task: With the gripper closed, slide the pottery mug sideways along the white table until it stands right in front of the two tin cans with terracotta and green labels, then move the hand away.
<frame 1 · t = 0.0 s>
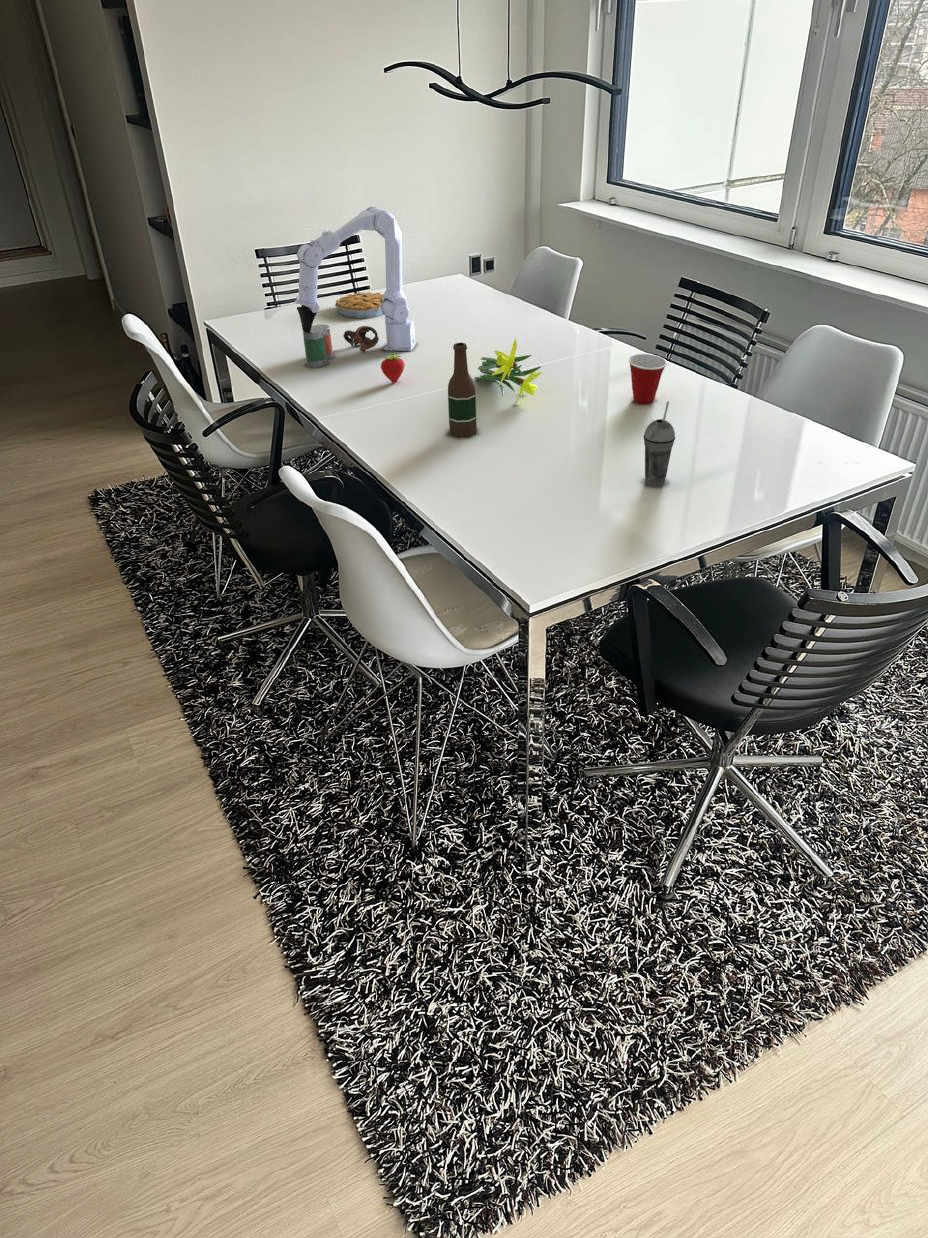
hand: (306, 330, 284), 11 cm above the table, tool pointing down, fingers closed, pressing on tin cans
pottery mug: (362, 348, 303), on the table
beer bottle: (463, 433, 241), on the table
pie: (365, 311, 341), on the table
beverage cup: (654, 483, 212), on the table
strawberry: (394, 383, 274), on the table
plastic cup: (644, 401, 256), on the table
daffodil flowers: (500, 393, 264), on the table
tin cans: (320, 360, 294), on the table
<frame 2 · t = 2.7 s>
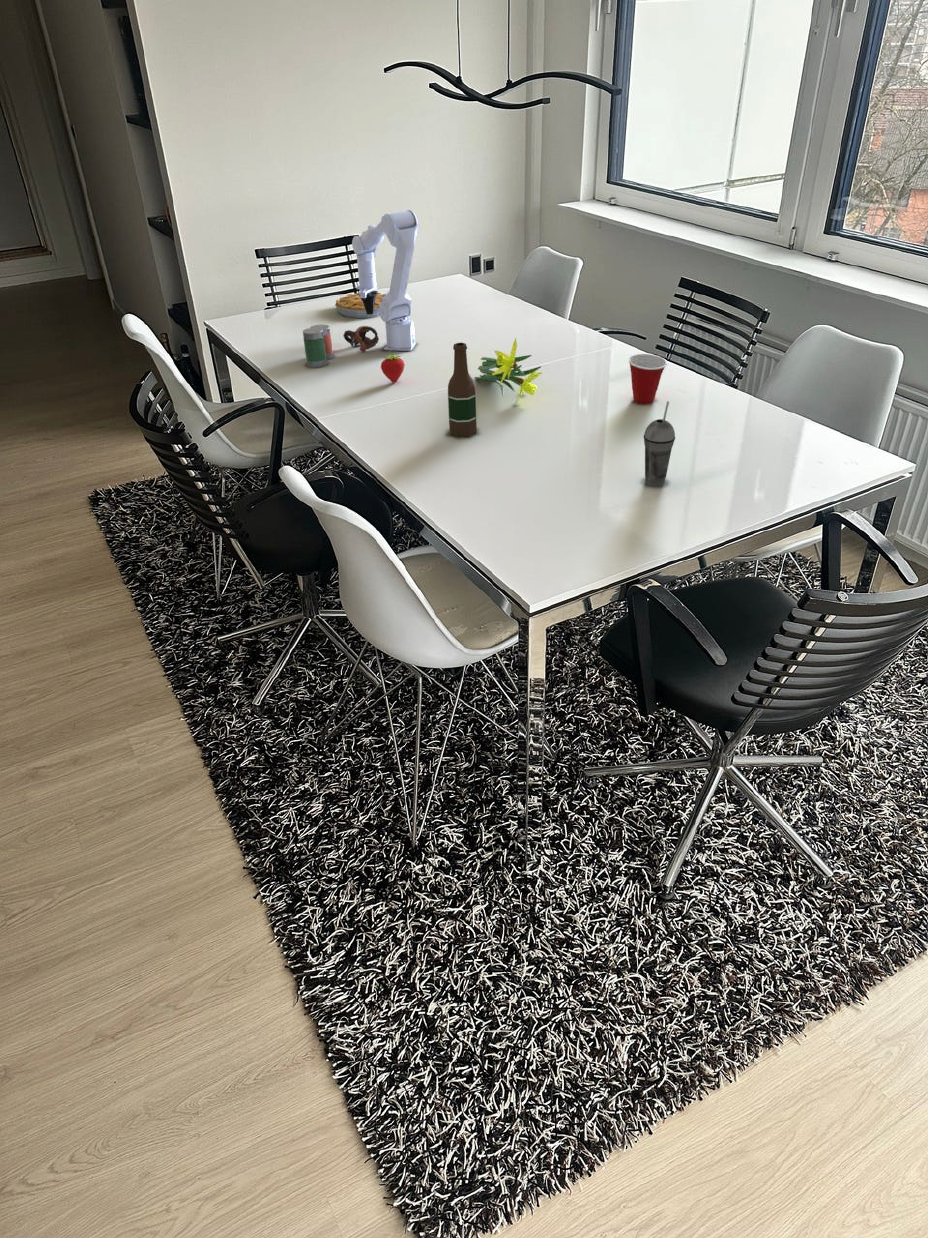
hand: (370, 313, 310), 8 cm above the table, tool pointing down, fingers closed
nothing on the table moved.
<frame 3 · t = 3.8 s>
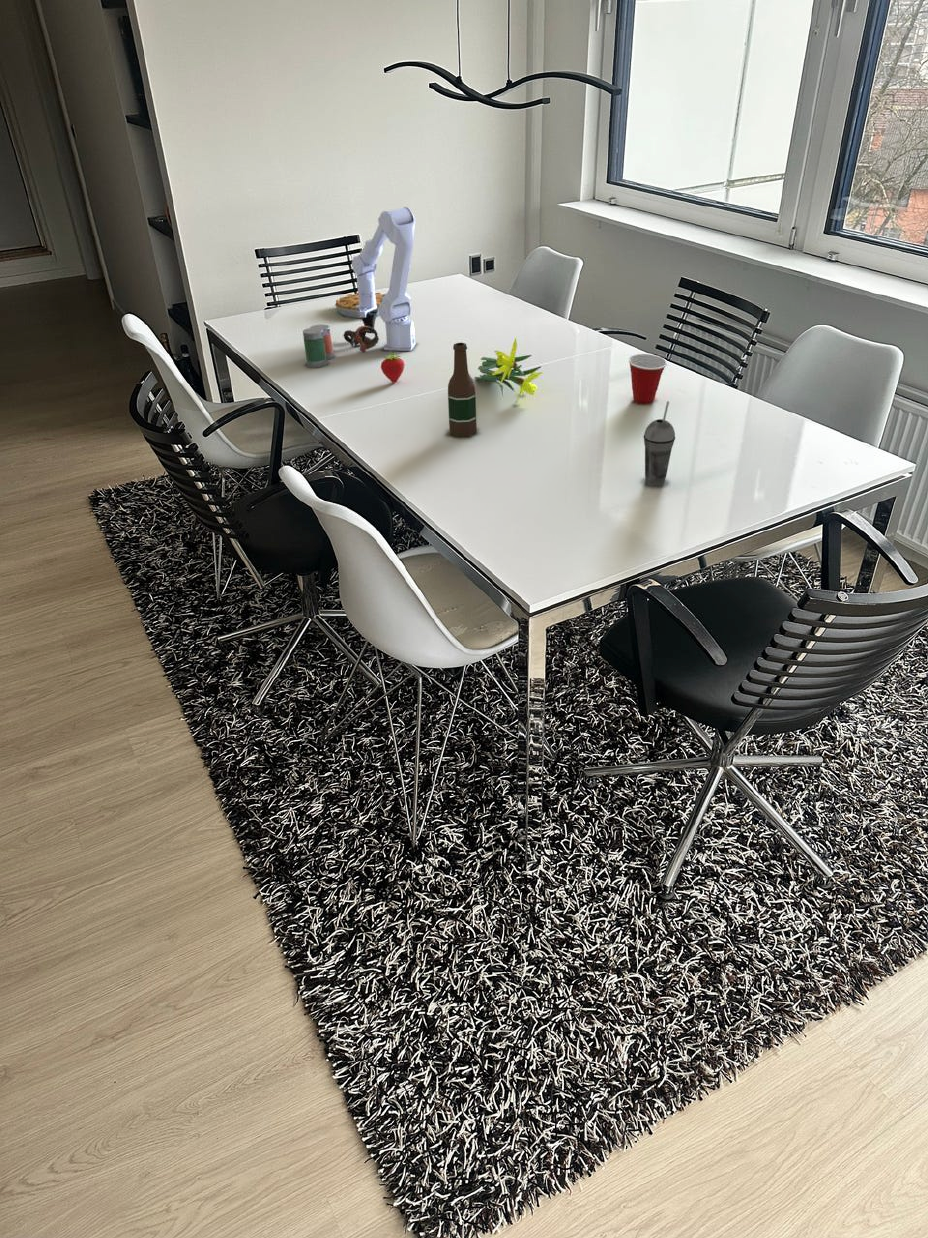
hand: (370, 332, 311), 2 cm above the table, tool pointing down, fingers closed
nothing on the table moved.
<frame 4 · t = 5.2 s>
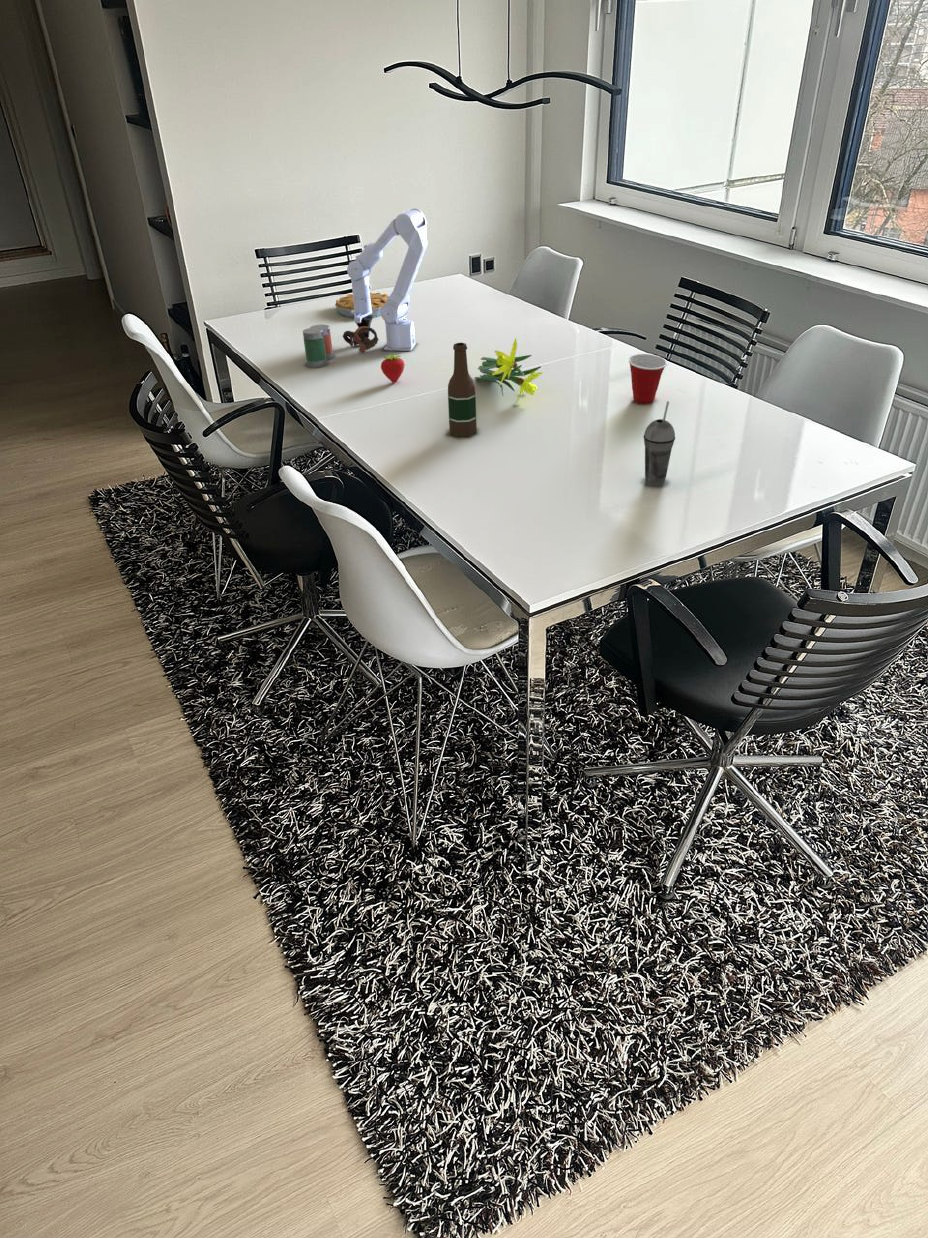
hand: (365, 338, 306), 2 cm above the table, tool pointing down, fingers closed
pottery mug: (361, 349, 303), on the table, touching gripper
everything else where it was.
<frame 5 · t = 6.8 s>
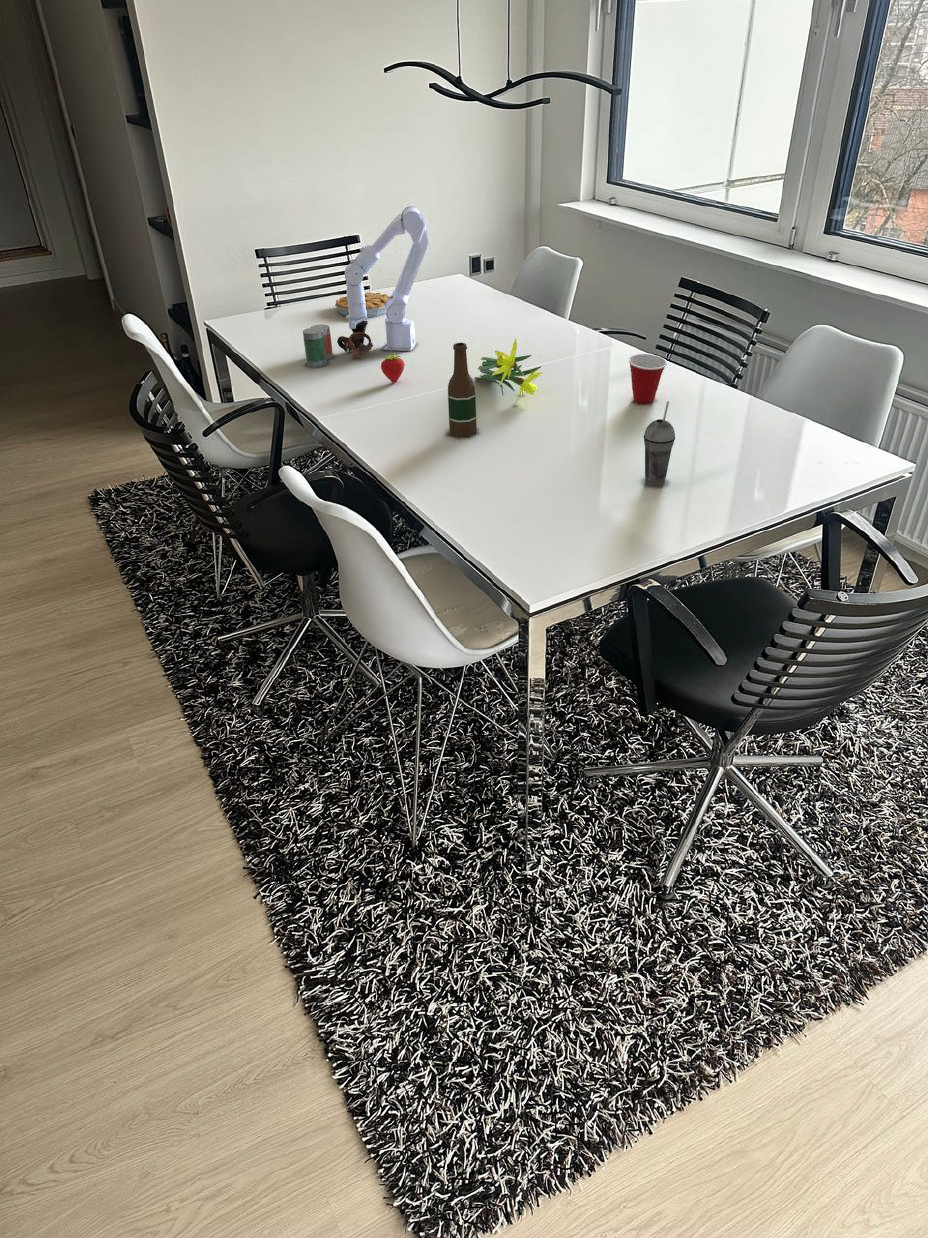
hand: (360, 343, 301), 2 cm above the table, tool pointing down, fingers closed
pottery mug: (356, 355, 298), on the table, touching gripper
everything else where it was.
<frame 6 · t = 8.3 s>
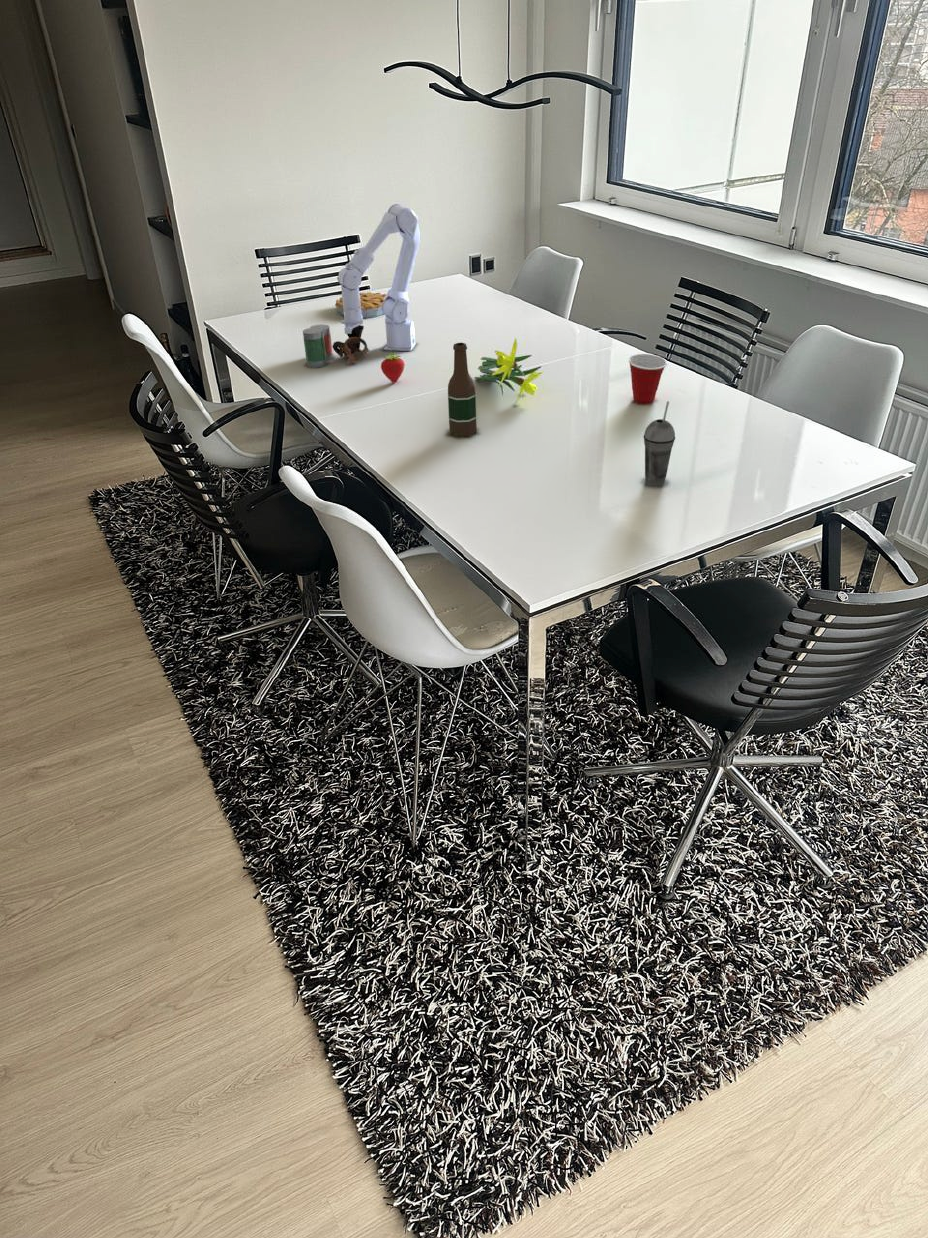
hand: (356, 348, 297), 2 cm above the table, tool pointing down, fingers closed
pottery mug: (351, 360, 294), on the table, touching gripper
everything else where it was.
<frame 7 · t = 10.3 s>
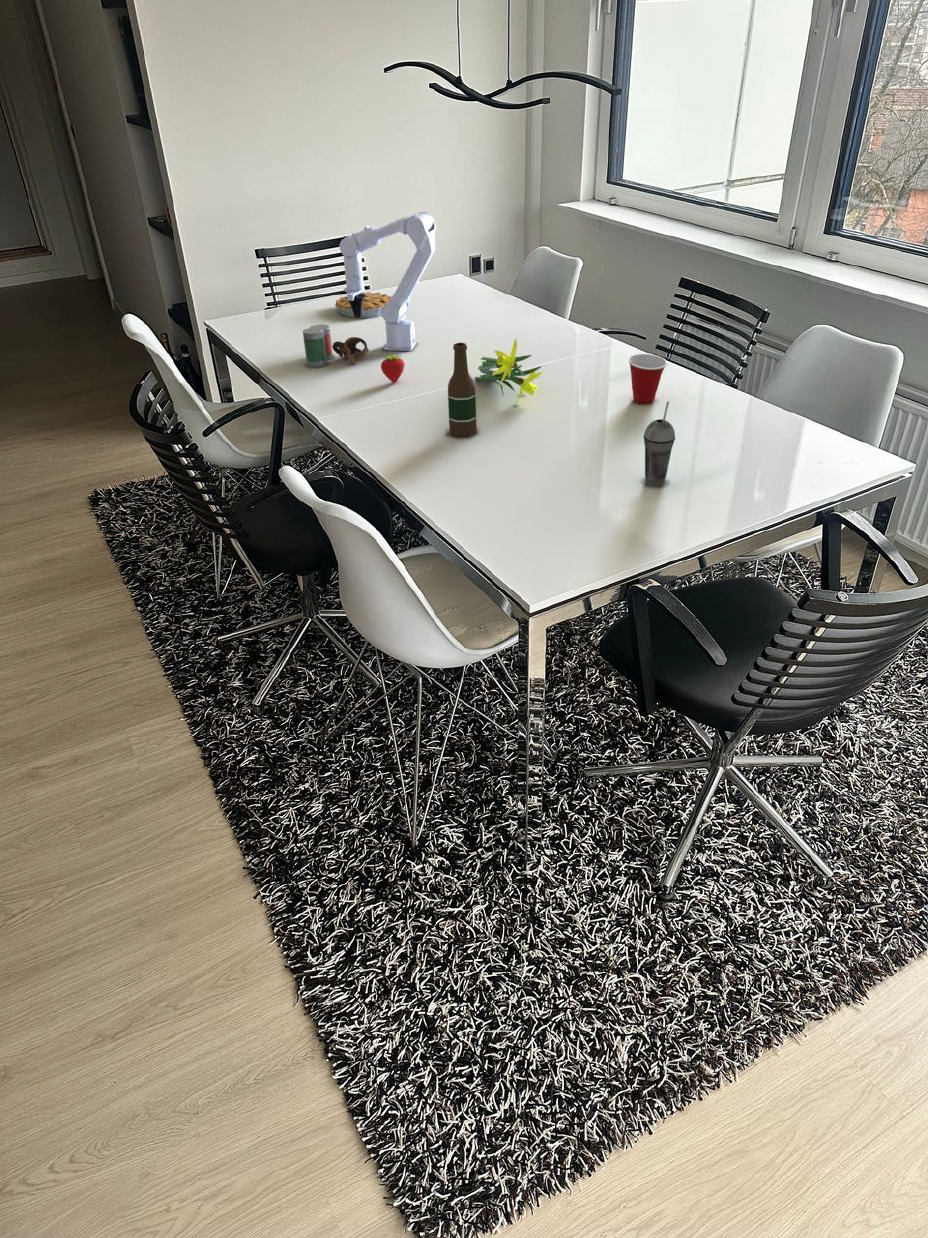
hand: (358, 316, 301), 9 cm above the table, tool pointing down, fingers closed
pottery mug: (351, 360, 293), on the table
everything else where it was.
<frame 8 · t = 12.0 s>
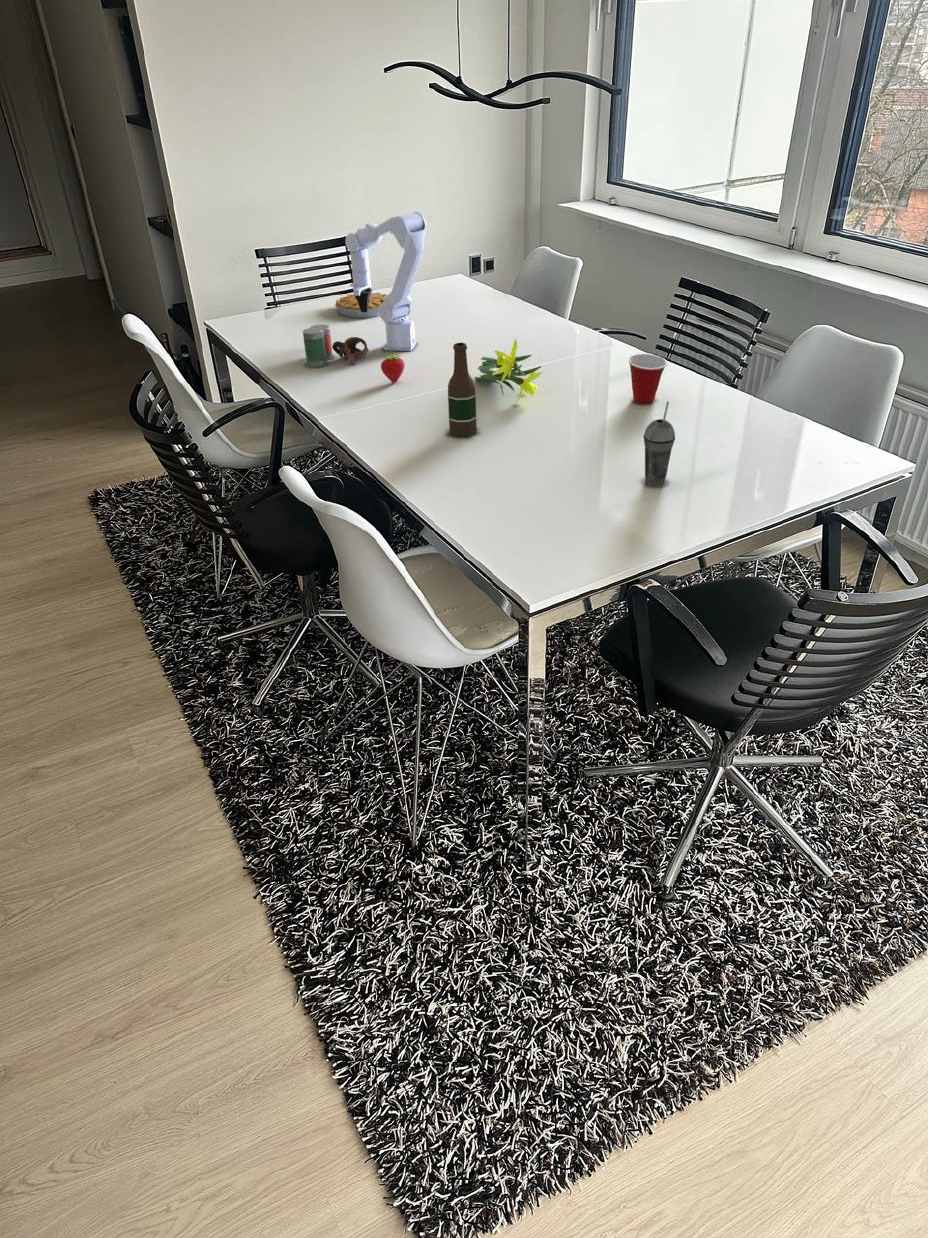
hand: (364, 311, 306), 9 cm above the table, tool pointing down, fingers closed
nothing on the table moved.
at the end: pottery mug inside the target area (1.8 cm from its centre), on the table; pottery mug tilted 2° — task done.
